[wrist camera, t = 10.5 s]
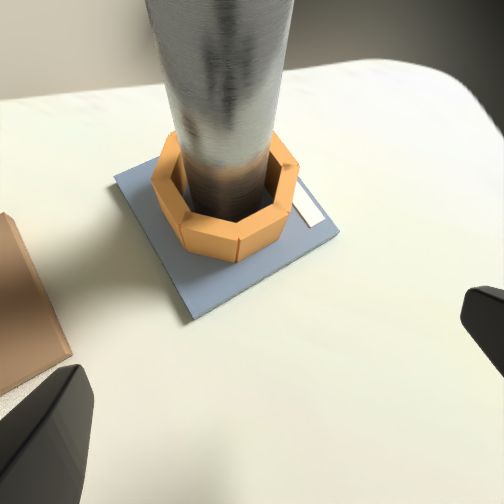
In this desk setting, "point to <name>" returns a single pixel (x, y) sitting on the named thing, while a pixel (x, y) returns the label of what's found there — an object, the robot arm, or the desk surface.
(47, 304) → the board
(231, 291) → the socket plate
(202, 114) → the steel peg
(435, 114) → the desk surface
